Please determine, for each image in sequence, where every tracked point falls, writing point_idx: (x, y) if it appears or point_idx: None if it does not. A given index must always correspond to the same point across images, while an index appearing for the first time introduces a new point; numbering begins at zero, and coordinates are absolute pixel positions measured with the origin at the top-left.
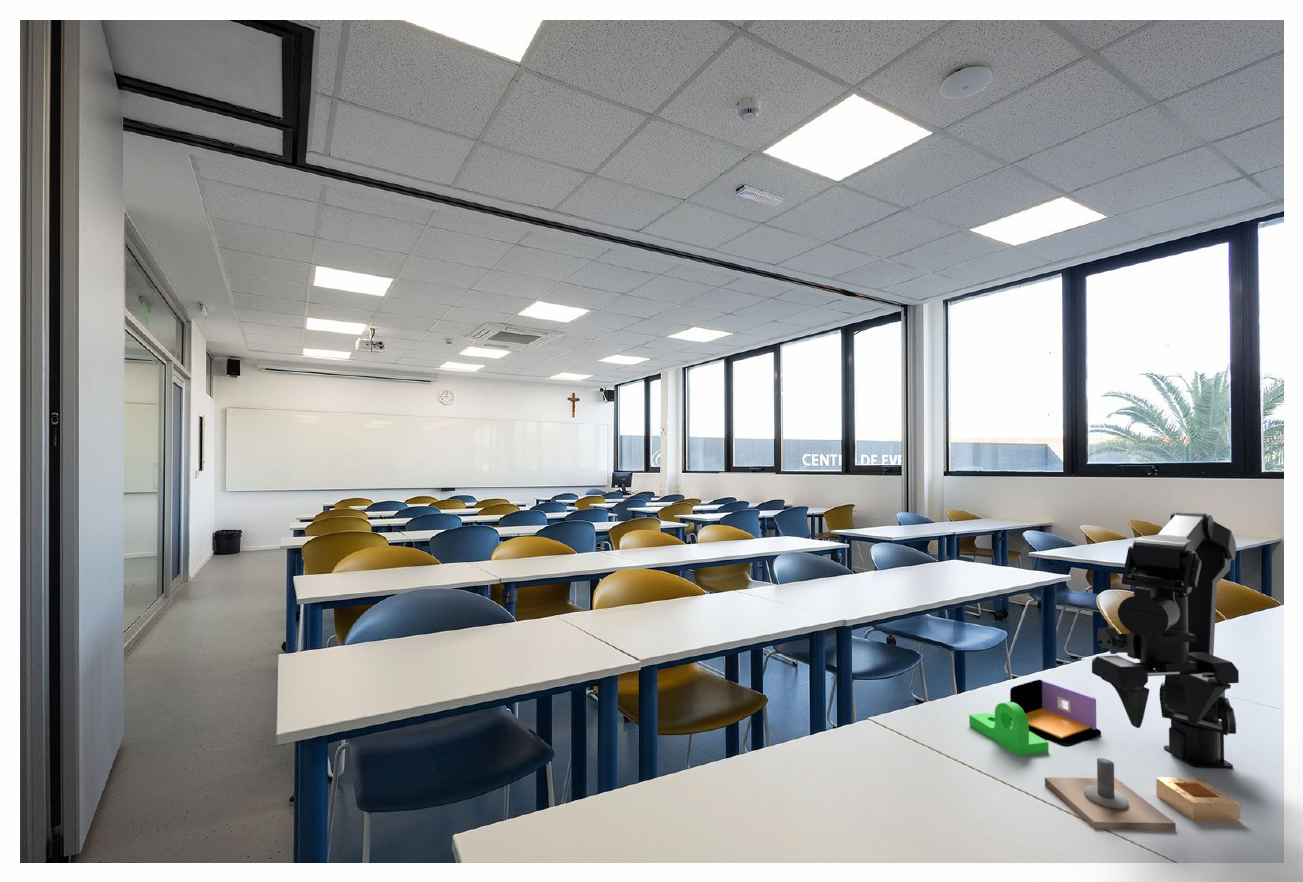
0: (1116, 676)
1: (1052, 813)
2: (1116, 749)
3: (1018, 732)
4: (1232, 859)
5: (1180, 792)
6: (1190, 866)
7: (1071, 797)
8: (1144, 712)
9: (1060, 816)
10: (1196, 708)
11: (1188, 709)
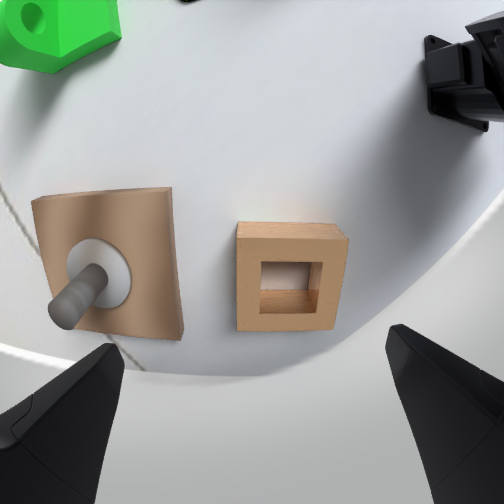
0: None
1: (34, 273)
2: (313, 14)
3: (19, 67)
4: (225, 372)
5: (243, 297)
6: (157, 377)
7: (49, 267)
8: (106, 444)
9: (41, 280)
10: (415, 409)
11: (417, 365)
